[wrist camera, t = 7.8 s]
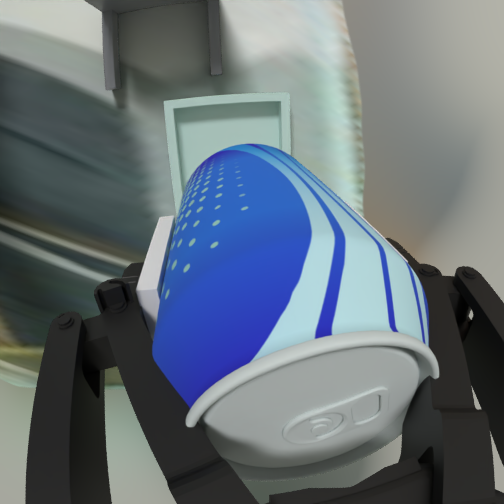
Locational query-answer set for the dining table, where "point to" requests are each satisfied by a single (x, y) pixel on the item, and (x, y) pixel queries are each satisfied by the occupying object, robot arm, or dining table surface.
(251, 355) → the beer can
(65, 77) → the dining table surface
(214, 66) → the bay
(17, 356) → the dining table surface
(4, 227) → the dining table surface
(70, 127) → the dining table surface
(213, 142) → the tray
